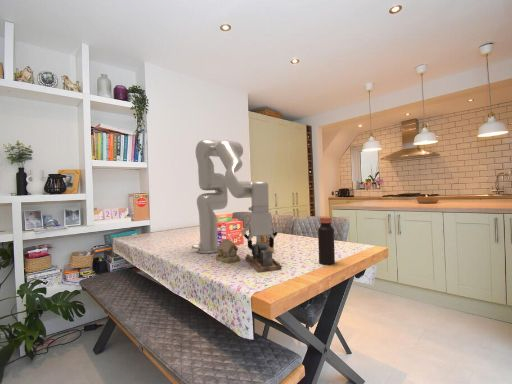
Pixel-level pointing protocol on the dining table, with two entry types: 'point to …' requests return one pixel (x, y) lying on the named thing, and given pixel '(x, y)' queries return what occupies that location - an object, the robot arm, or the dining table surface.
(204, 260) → the dining table surface
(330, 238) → the bottle
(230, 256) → the ceramic model
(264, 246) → the finger block
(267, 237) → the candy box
